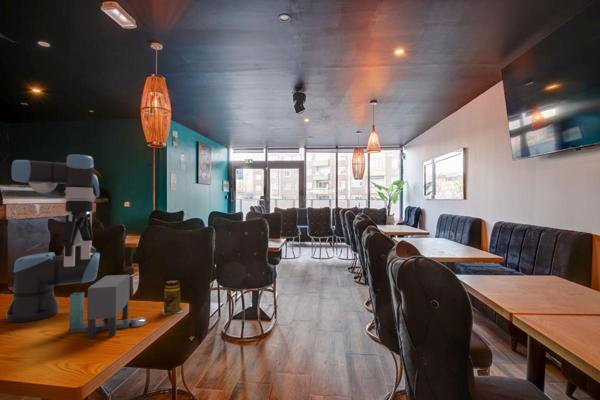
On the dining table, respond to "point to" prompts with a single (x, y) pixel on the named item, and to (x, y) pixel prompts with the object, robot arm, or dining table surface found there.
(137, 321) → the token
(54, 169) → the robot arm
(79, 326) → the l-shaped tool
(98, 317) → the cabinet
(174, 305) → the condiment
